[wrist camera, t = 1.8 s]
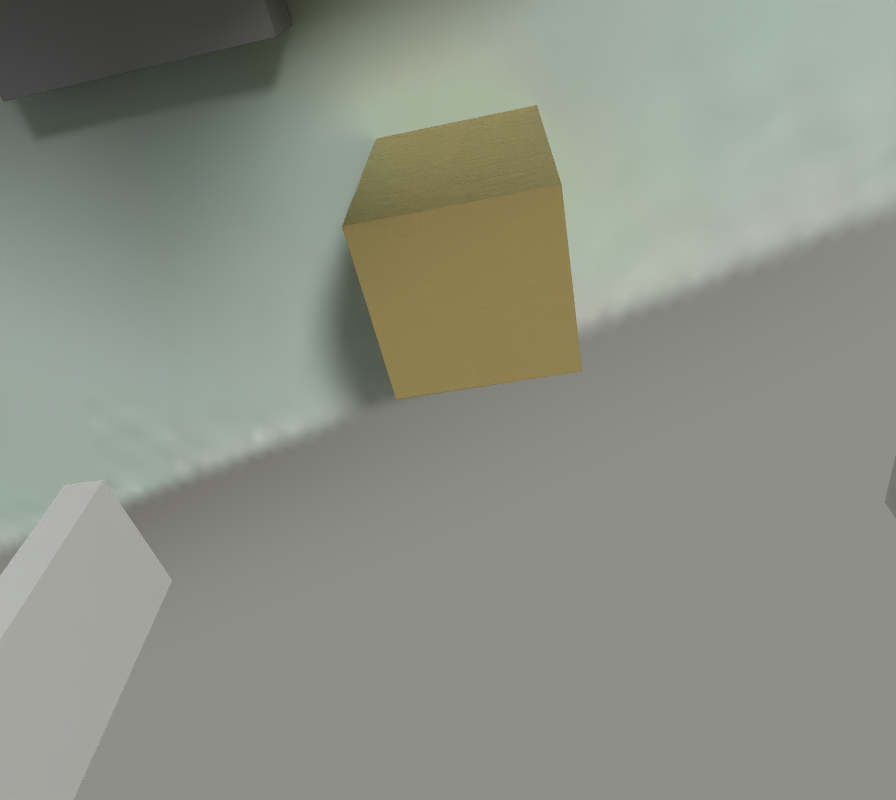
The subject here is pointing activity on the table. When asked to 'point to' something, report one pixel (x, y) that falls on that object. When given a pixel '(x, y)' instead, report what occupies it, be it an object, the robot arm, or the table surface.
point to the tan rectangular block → (465, 255)
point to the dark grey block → (119, 36)
